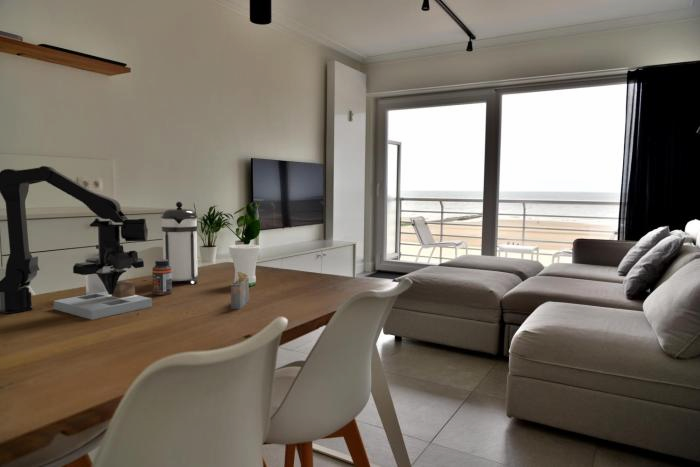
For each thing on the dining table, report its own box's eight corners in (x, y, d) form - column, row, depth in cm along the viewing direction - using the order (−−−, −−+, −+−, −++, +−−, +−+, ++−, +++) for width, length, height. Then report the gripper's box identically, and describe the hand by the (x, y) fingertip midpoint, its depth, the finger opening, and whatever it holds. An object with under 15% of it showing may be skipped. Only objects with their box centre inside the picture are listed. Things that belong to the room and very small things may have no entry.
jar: (81, 298, 156) (79, 260, 155) (91, 292, 164) (89, 257, 163) (111, 297, 157) (109, 260, 156) (119, 292, 165) (118, 256, 164)
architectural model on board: (239, 301, 156) (238, 271, 155) (248, 301, 156) (248, 271, 155) (229, 310, 144) (229, 277, 143) (239, 310, 144) (239, 277, 143)
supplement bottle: (148, 294, 163) (147, 260, 162) (163, 291, 168) (162, 258, 167) (161, 296, 160) (160, 261, 159) (175, 293, 165) (175, 259, 164)
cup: (226, 283, 183) (226, 245, 182) (256, 281, 188) (256, 244, 186) (233, 288, 173) (232, 248, 172) (264, 286, 178) (264, 247, 176)
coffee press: (212, 280, 187) (211, 201, 185) (177, 287, 174) (175, 202, 171) (181, 276, 196) (180, 200, 194) (146, 282, 183) (144, 201, 180)
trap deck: (92, 319, 131) (91, 310, 131) (53, 309, 142) (53, 300, 142) (152, 306, 146) (151, 298, 146) (113, 297, 157) (113, 290, 157)
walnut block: (120, 298, 146) (120, 284, 145) (111, 296, 148) (111, 282, 148) (135, 295, 150) (134, 282, 149) (126, 293, 152) (125, 280, 152)
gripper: (92, 246, 132) (94, 303, 133) (154, 241, 148) (155, 292, 149) (71, 243, 138) (73, 298, 139) (132, 238, 154) (133, 288, 155)
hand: (110, 294), depth 145 cm, fingers closed
